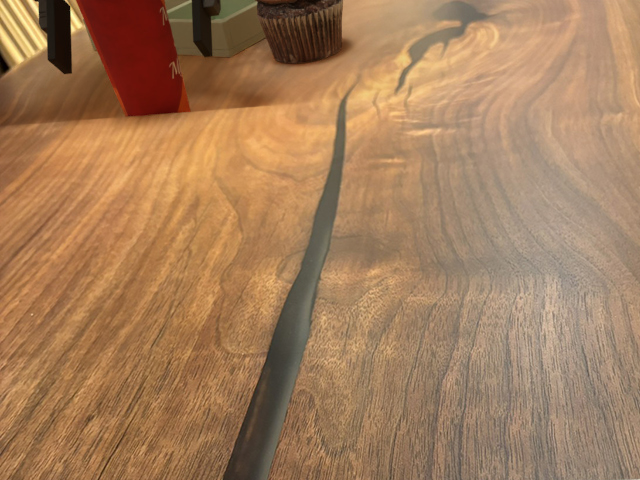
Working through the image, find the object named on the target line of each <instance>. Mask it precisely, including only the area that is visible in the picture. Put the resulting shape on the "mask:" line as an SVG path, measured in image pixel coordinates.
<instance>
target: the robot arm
mask: <svg viewBox="0 0 640 480" xmlns="http://www.w3.org/2000/svg"><path fill="white" fill-rule="evenodd" d="M33 1H34V2H36V3H37V5H38V25H39V28H40V29H41V31H43V32H44V33H45V34H46V46H47V47H46V49H47V51H46V53H47V54H46V55H47V61H48V62H49V63H50V64H52V65H53V66H54V67H55V68H56V69H57V70H59V72H61V73H62V74H63V75H71V74H73V58H72V57H73V56H72V17H71V16H72V14H71V11H72V10H71V5H70V4H69V3H68V1H66V0H33ZM220 3H221V2H220V0H192V24H193V42H194V44H195V45H196V46H197V48H198V49H199V51H200V52H201V53H202V55H203V56H202V57H204V58H209V57H210V58H211V57H213V56H212V31H211V16H217V15H219V13H220V11H221V4H220Z"/></svg>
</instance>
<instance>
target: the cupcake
mask: <svg viewBox="0 0 640 480" xmlns="http://www.w3.org/2000/svg"><path fill="white" fill-rule="evenodd" d="M255 1H257V2H258V3H257V16H258V19H259V22H260V24H261V26H262V28H263V31H264V33H265V36H266V37H265V39H266V41H267V44H268V46H269V48H270V51H271V54H272V56H273V58H274V60H276V61H277V62H280V63H283V64H304V63H311V62H316V61H320V60H321V61H322V60H324V59H327V58H329V57H330V56H334V55H336V54H337V53H339V52H340V51H341V49H342V47H343V9H344V6H343V5H344V0H255Z"/></svg>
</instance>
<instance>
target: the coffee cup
mask: <svg viewBox="0 0 640 480" xmlns="http://www.w3.org/2000/svg"><path fill="white" fill-rule="evenodd" d="M75 3H76V4H77V6H78V9H79V11H80V14H81V16H82V19H84V21H85V23H86V26H87V28H88V30H89V33H90V35H91V37H92V40H93V42H94V44H95V47H96V49H97V50H96V52H97V54H98V56H99V59H100V61H101V63H102V67H103V68H104V70H105V72H106V75H107V78H108V79H109V82H110V84H111V87H112V89H113V91H114V93H115V97H116V98H117V101H118V103H119V106H120V108H121V110H122V113H123V114H124V117H125V118H127V117H144V116H153V115H154V116H155V115H167V114H168V115H169V114H181V113H191V107H190V103H189V102H190V101H189V98H188V94H187V89H186V86H185V81H184V76H183V73H182V68H181V63H180V59H179V55H177V51H176V46H175V42H174V38H173V34H172V30H171V26H170V21H169V17H168V13H167V9H166V5H165V1H164V0H75Z"/></svg>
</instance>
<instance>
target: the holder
mask: <svg viewBox="0 0 640 480" xmlns="http://www.w3.org/2000/svg"><path fill="white" fill-rule="evenodd" d="M164 1H165V5H166V9H167V13H168V17H169V21H170V26H171V30H172V34H173V38H174V42H175V46H176V51H177V55H178V56H193V57H195V56H196V57H197V56H198V57H204V56H203V55H202V53H201V52H200V51H199V49H198V48H197V46H196V45H195V44H194V42H193V24H192V0H164ZM220 2H221V3H220V4H221V11H220V13H219V15H217V16H211V31H212V57H213V58H232V57H234V56H236V55H237V54H239V53H241V52H243V51H244V50H246V49H248V48H250V47H252V46H253V45H255V44H257V43H258V42H260V41H262V40H264V39H266V36H265V33H264V31H263V28H262V26H261V24H260V22H259V19H258V16H257V3H258V2H257V1H255V0H220ZM82 21H83V22H82V23H83V24H84V27H85V29H86V32H87V35H88V38H89V41H90V43H91V47H92V49H93V51H97V49H96V47H95V44H94V42H93V40H92V37H91V35H90V33H89V30H88V28H87V26H86V23H85V21H84V18H82Z"/></svg>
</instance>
